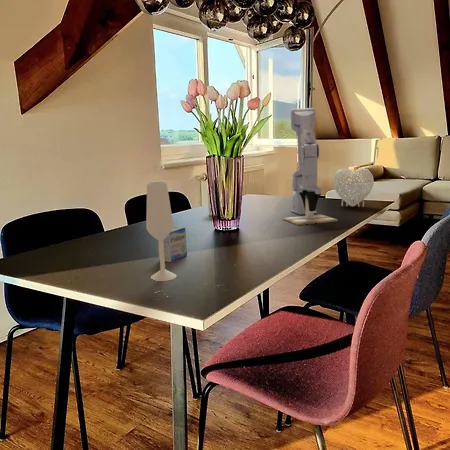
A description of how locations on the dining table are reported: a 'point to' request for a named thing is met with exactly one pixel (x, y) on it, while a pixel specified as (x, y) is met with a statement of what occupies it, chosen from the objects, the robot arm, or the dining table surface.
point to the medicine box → (175, 245)
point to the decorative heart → (353, 185)
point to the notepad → (309, 219)
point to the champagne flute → (159, 222)
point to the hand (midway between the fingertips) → (309, 210)
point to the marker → (308, 213)
